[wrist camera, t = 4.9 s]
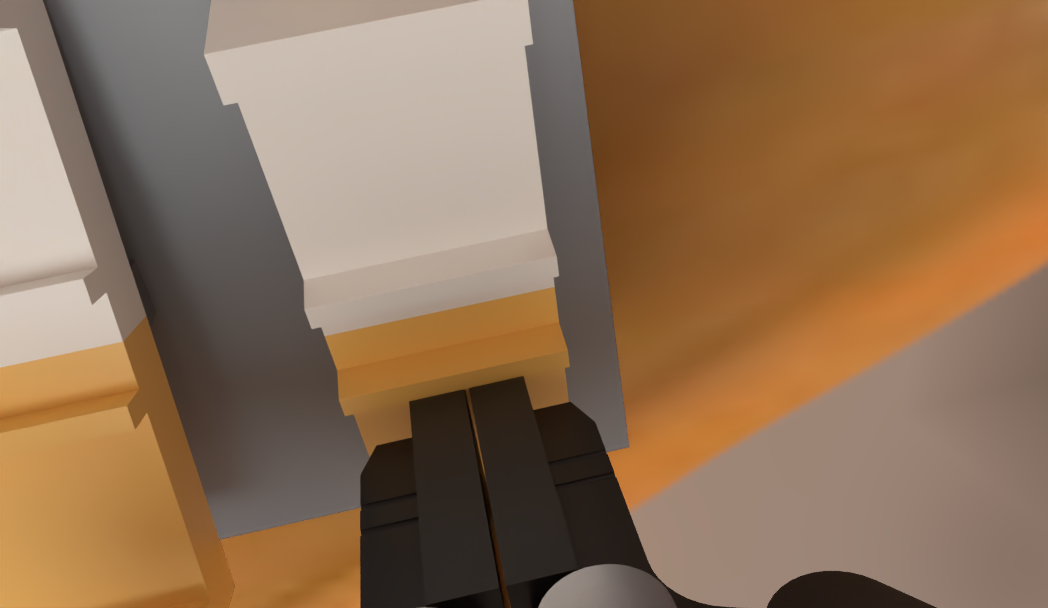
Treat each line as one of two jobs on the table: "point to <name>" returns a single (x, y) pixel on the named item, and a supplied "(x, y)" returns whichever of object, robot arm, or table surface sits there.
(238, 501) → the switch panel
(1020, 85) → the table surface
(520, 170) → the switch
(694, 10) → the table surface
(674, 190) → the table surface
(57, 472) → the switch middle
